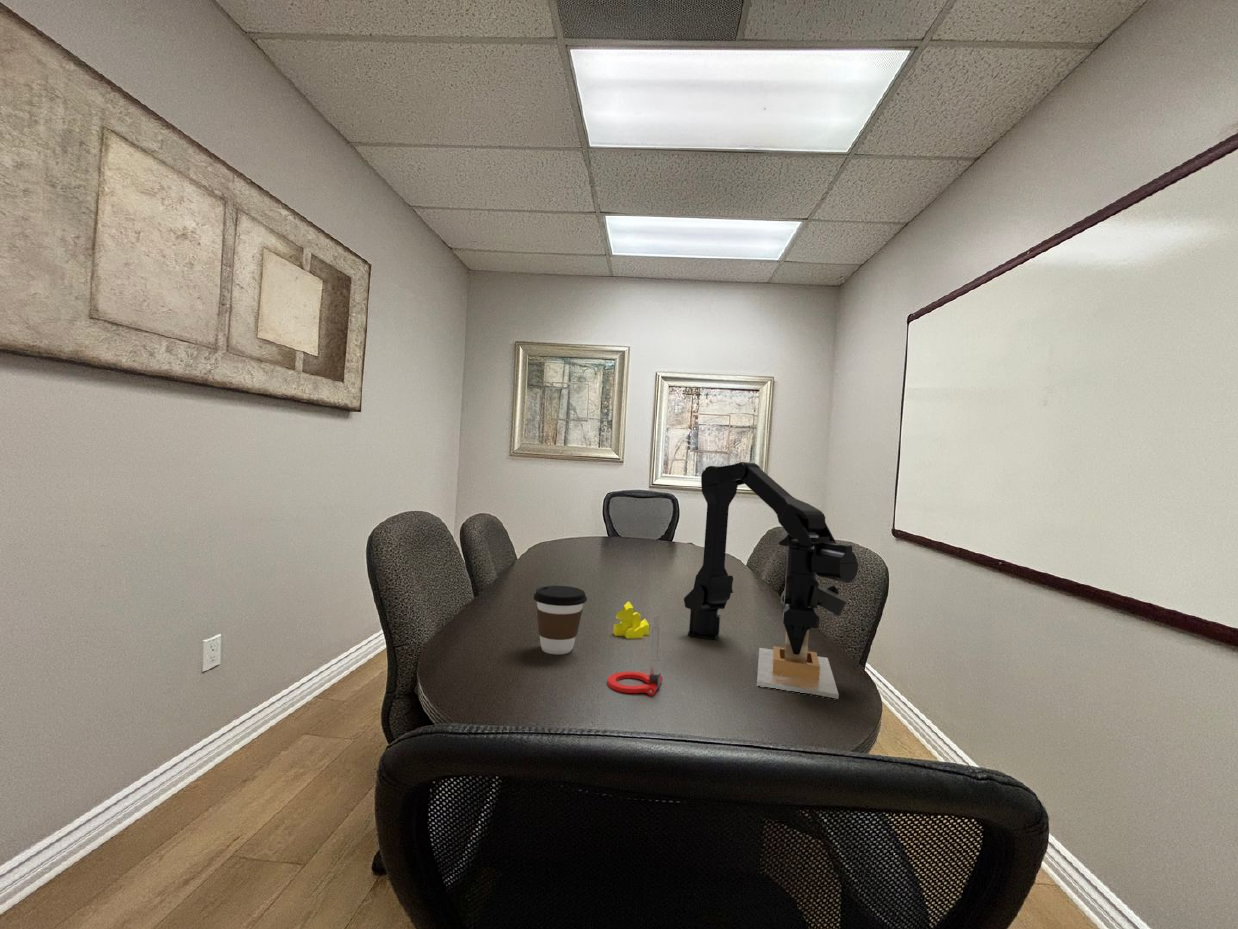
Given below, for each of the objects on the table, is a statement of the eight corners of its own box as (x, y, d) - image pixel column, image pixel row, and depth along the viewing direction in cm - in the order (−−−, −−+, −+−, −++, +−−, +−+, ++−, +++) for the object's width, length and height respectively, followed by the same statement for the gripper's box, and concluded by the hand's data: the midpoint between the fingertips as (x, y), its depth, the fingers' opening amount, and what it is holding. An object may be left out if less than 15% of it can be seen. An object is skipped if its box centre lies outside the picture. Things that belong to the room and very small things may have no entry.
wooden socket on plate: (756, 686, 102) (757, 667, 102) (758, 652, 121) (760, 636, 121) (838, 700, 98) (839, 680, 98) (827, 662, 117) (828, 646, 117)
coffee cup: (519, 652, 111) (523, 592, 111) (546, 637, 121) (550, 582, 121) (568, 662, 107) (572, 600, 107) (592, 646, 117) (595, 590, 117)
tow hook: (601, 692, 96) (653, 699, 93) (602, 616, 96) (655, 621, 94) (615, 675, 104) (663, 681, 101) (616, 606, 104) (665, 610, 102)
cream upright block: (784, 665, 108) (787, 624, 108) (784, 658, 112) (786, 619, 112) (806, 668, 107) (809, 627, 107) (804, 662, 111) (807, 622, 111)
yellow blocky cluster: (651, 638, 126) (653, 604, 126) (618, 639, 124) (620, 604, 124) (643, 630, 132) (645, 597, 132) (610, 631, 129) (612, 598, 129)
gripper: (851, 586, 98) (845, 674, 98) (839, 568, 116) (834, 643, 116) (786, 578, 101) (780, 664, 101) (784, 562, 119) (778, 635, 119)
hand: (795, 650), depth 110 cm, fingers closed on cream upright block, 4 cm apart
